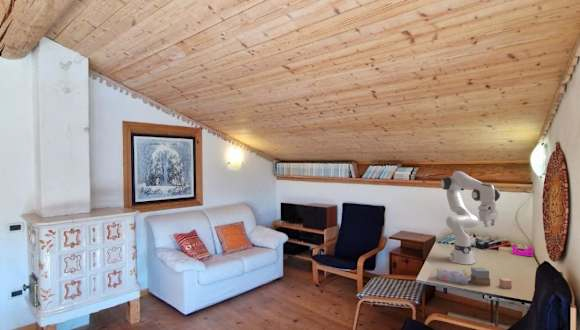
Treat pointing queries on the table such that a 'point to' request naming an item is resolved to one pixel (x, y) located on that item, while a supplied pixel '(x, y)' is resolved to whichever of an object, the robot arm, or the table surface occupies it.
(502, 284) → the terracotta cube
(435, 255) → the table surface
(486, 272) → the tower top
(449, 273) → the pencil case
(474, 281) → the tower bottom
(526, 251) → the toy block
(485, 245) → the camera
